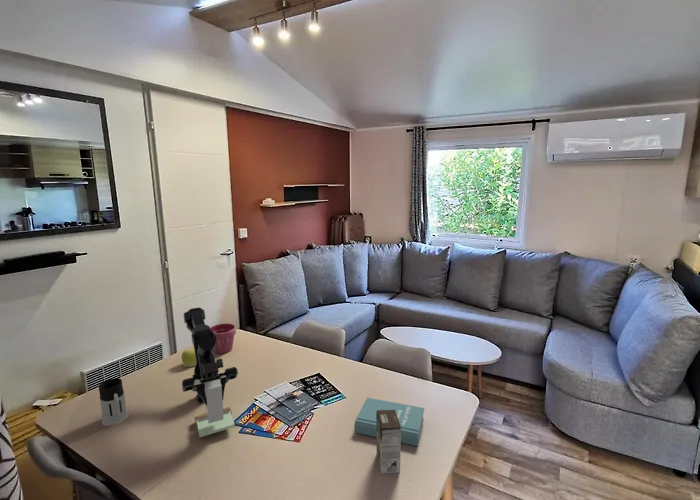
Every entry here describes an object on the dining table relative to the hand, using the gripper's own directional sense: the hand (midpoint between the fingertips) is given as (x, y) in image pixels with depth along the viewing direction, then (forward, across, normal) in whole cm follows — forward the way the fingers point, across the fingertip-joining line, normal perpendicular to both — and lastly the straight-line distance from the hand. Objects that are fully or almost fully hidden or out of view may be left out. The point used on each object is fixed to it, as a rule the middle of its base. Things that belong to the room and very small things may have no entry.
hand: (214, 402), depth 130 cm
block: (+4, 0, +6) cm, 7 cm away
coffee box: (+39, +46, -20) cm, 63 cm away
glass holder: (-10, -32, +30) cm, 45 cm away
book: (+29, +57, -9) cm, 64 cm away
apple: (-34, -2, +54) cm, 64 cm away
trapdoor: (+5, 0, +10) cm, 12 cm away
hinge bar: (+2, 0, +17) cm, 17 cm away
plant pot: (-40, +16, +60) cm, 74 cm away
